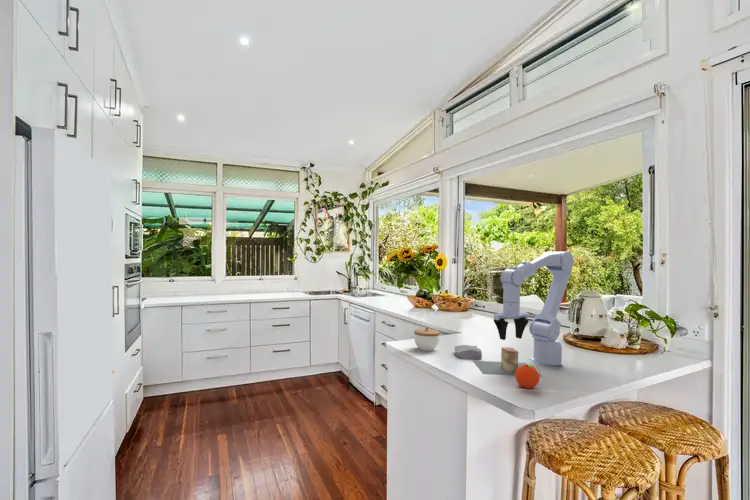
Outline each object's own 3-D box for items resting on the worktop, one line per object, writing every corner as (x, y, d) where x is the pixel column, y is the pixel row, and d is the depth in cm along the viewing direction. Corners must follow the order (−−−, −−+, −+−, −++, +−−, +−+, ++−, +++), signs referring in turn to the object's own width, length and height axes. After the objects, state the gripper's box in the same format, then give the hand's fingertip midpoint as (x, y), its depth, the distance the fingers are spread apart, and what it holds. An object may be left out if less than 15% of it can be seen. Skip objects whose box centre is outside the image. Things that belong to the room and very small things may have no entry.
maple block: (512, 366, 133) (512, 347, 134) (517, 371, 127) (518, 351, 128) (501, 366, 134) (501, 347, 134) (506, 371, 128) (506, 351, 128)
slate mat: (525, 363, 139) (525, 362, 139) (543, 377, 123) (543, 376, 123) (472, 361, 140) (472, 360, 140) (483, 374, 124) (483, 373, 124)
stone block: (459, 364, 142) (484, 360, 142) (456, 352, 142) (482, 348, 142) (453, 357, 154) (476, 353, 154) (451, 346, 154) (474, 342, 154)
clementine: (533, 383, 117) (534, 361, 117) (547, 391, 110) (547, 367, 110) (510, 384, 115) (511, 361, 115) (522, 392, 108) (523, 368, 109)
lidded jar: (429, 345, 164) (430, 324, 164) (444, 351, 154) (444, 328, 154) (409, 347, 159) (409, 325, 159) (422, 353, 149) (423, 330, 150)
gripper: (518, 300, 142) (517, 335, 141) (488, 301, 136) (487, 337, 136) (532, 302, 135) (532, 339, 135) (501, 303, 129) (501, 341, 129)
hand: (510, 338), depth 135 cm, fingers open, 7 cm apart
